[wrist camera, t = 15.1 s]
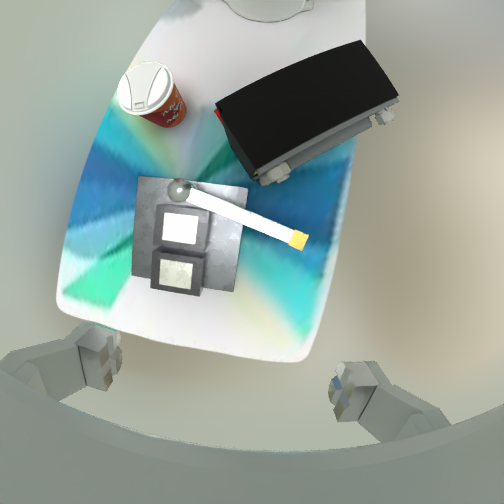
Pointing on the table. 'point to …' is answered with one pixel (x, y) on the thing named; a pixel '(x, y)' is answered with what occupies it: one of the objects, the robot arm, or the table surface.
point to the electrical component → (305, 110)
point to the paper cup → (151, 94)
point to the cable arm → (234, 212)
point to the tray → (185, 239)
